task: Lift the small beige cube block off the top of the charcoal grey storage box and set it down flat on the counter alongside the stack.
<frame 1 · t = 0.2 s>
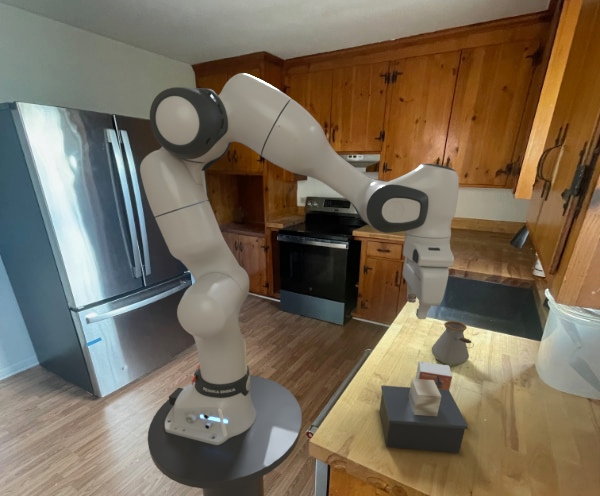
hand: (415, 309, 74), 30 cm above the counter, tool pointing down, fingers open, 8 cm apart
small box: (428, 401, 90), on the counter
coffee pot: (451, 368, 106), on the counter
storage box: (416, 430, 80), on the counter
beige cube block: (422, 406, 76), point 8 cm above the counter, touching storage box
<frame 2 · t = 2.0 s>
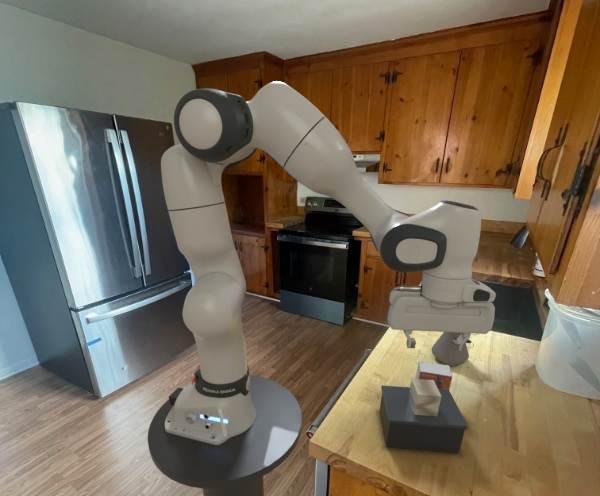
hand: (433, 348, 70), 23 cm above the counter, tool pointing down, fingers open, 8 cm apart
nothing on the counter moved.
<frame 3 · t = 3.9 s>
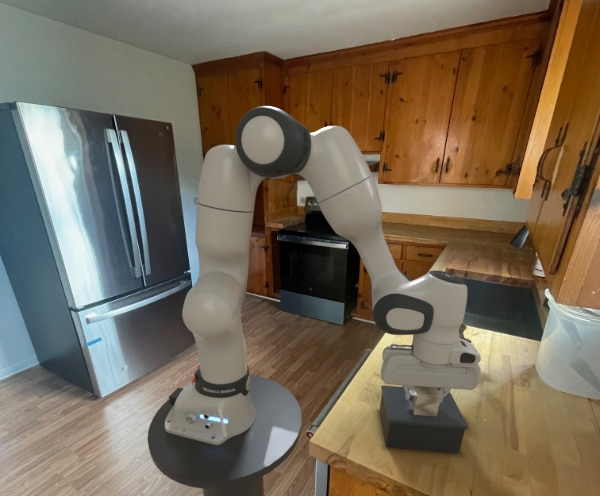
hand: (423, 400, 75), 10 cm above the counter, tool pointing down, fingers closed on beige cube block, 5 cm apart
beige cube block: (421, 406, 76), point 8 cm above the counter, touching gripper, storage box
everything else where it was.
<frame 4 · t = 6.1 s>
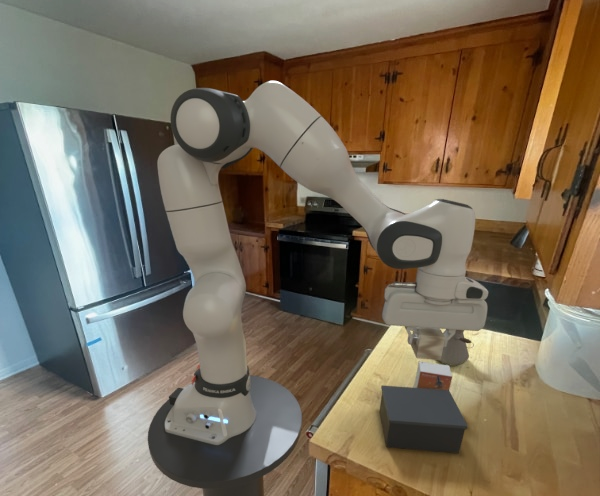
hand: (426, 344, 71), 23 cm above the counter, tool pointing down, fingers closed on beige cube block, 5 cm apart
beige cube block: (424, 352, 72), point 21 cm above the counter, touching gripper
everything else where it was.
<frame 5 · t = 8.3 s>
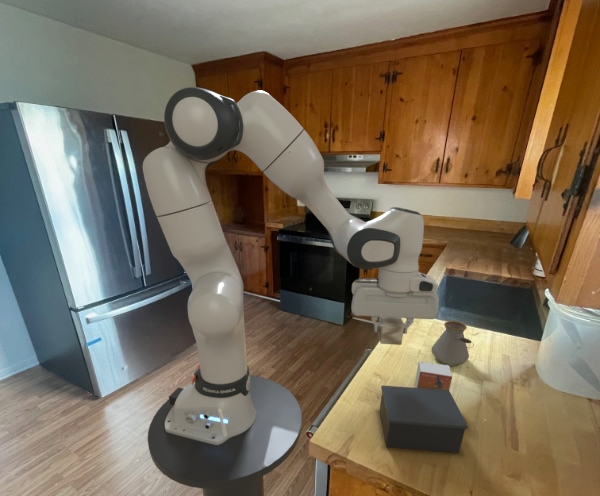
hand: (390, 332, 82), 21 cm above the counter, tool pointing down, fingers closed on beige cube block, 5 cm apart
beige cube block: (389, 338, 83), point 19 cm above the counter, touching gripper
everything else where it was.
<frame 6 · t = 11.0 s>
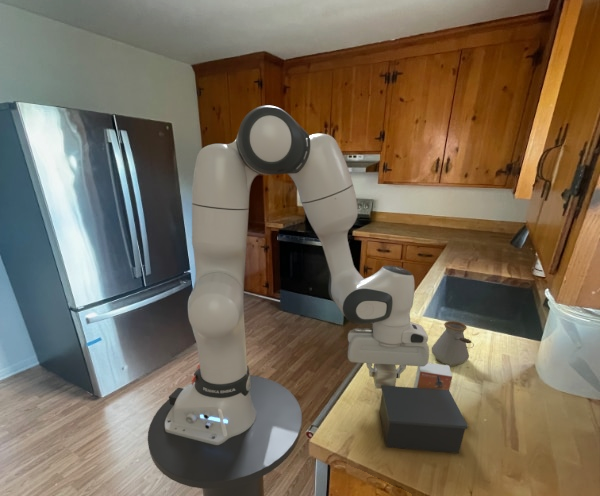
hand: (384, 376, 87), 8 cm above the counter, tool pointing down, fingers closed on beige cube block, 5 cm apart
beige cube block: (383, 382, 88), point 6 cm above the counter, touching gripper
everything else where it was.
when the fingers open (2 cm above the counter, at t = 12.9 s): beige cube block stays where it is, on the counter.
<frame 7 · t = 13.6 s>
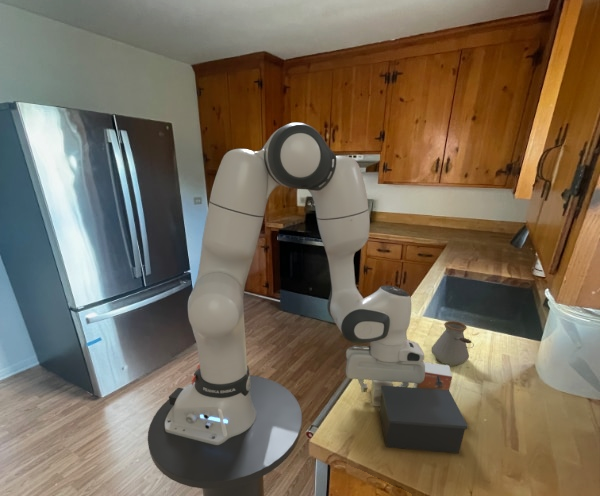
hand: (381, 392, 89), 2 cm above the counter, tool pointing down, fingers open, 8 cm apart
beige cube block: (380, 399, 90), on the counter
everything else where it was.
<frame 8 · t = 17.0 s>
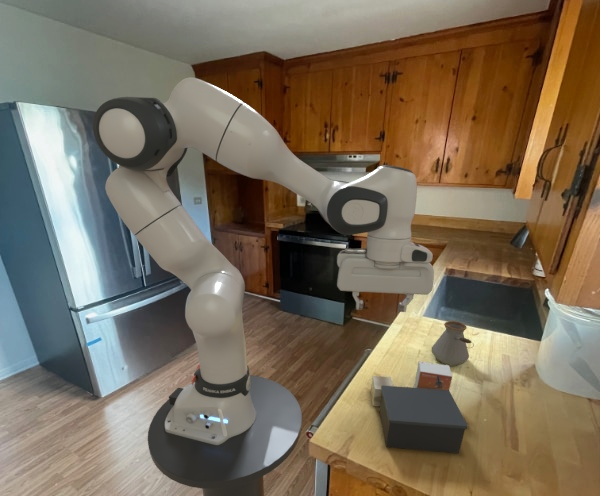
hand: (380, 309, 74), 29 cm above the counter, tool pointing down, fingers open, 8 cm apart
nothing on the counter moved.
at the end: beige cube block inside the target area (0.1 cm from its centre), on the counter; beige cube block touching counter; beige cube block tilted 0° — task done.
